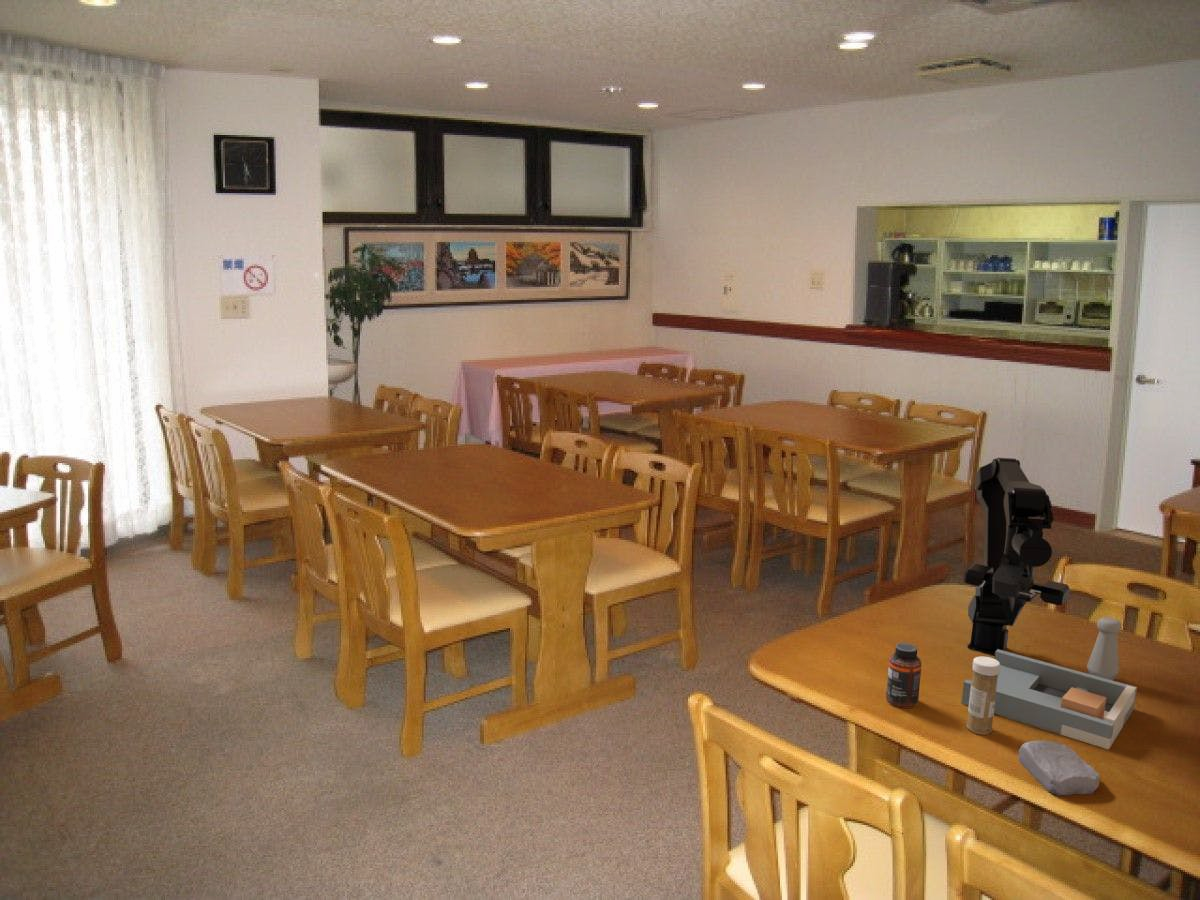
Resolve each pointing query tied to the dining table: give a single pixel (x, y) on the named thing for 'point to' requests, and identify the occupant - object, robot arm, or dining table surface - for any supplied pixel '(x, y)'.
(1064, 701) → the terracotta block
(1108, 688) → the box
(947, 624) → the dining table surface
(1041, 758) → the stone block
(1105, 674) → the salt shaker
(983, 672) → the sprinkles bottle
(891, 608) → the dining table surface
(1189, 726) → the dining table surface
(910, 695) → the supplement bottle
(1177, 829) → the dining table surface
